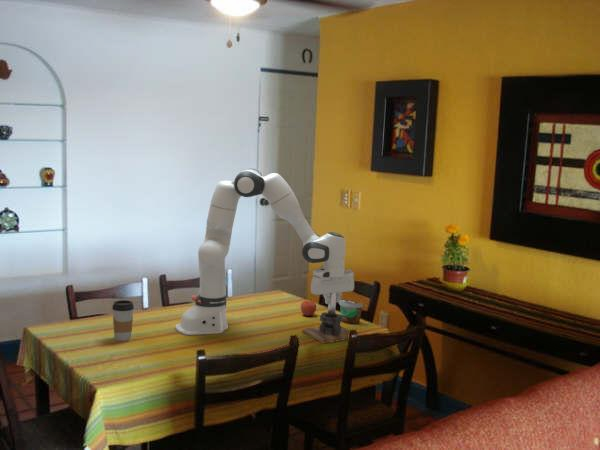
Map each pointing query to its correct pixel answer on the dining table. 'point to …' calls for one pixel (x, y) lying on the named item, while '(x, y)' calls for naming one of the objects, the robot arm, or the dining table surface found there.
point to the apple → (308, 307)
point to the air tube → (332, 305)
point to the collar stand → (328, 329)
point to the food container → (350, 311)
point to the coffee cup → (122, 319)
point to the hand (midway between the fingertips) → (332, 303)
